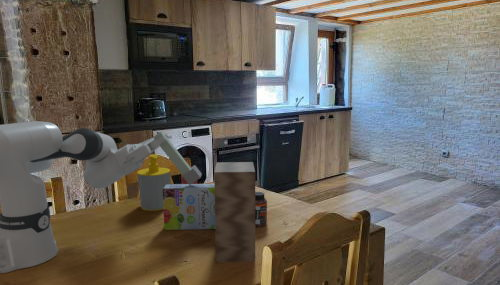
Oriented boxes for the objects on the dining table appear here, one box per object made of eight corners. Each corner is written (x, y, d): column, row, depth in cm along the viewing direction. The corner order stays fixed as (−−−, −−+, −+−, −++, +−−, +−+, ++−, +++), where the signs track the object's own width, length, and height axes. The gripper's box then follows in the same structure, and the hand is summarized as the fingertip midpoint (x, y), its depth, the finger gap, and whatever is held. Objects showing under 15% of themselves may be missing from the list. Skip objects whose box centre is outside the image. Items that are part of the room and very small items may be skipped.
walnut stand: (216, 262, 100) (214, 172, 96) (217, 243, 112) (216, 162, 108) (255, 261, 101) (255, 171, 97) (253, 242, 113) (252, 162, 108)
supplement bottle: (261, 228, 124) (261, 197, 122) (246, 225, 127) (246, 194, 125) (269, 222, 129) (270, 192, 127) (255, 219, 132) (255, 189, 130)
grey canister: (143, 213, 138) (140, 159, 135) (135, 203, 150) (132, 154, 146) (176, 207, 145) (174, 156, 141) (166, 198, 156) (164, 151, 152)
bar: (152, 137, 117) (163, 129, 116) (155, 135, 122) (165, 127, 121) (189, 185, 120) (200, 177, 119) (191, 181, 125) (201, 173, 124)
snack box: (226, 223, 129) (225, 182, 126) (225, 229, 123) (225, 187, 121) (167, 224, 128) (165, 183, 126) (163, 230, 123) (161, 188, 120)
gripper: (115, 156, 109) (153, 133, 109) (133, 144, 129) (166, 125, 129) (126, 173, 110) (165, 150, 110) (143, 159, 130) (175, 140, 130)
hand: (166, 137), depth 119 cm, fingers closed on bar, 3 cm apart
